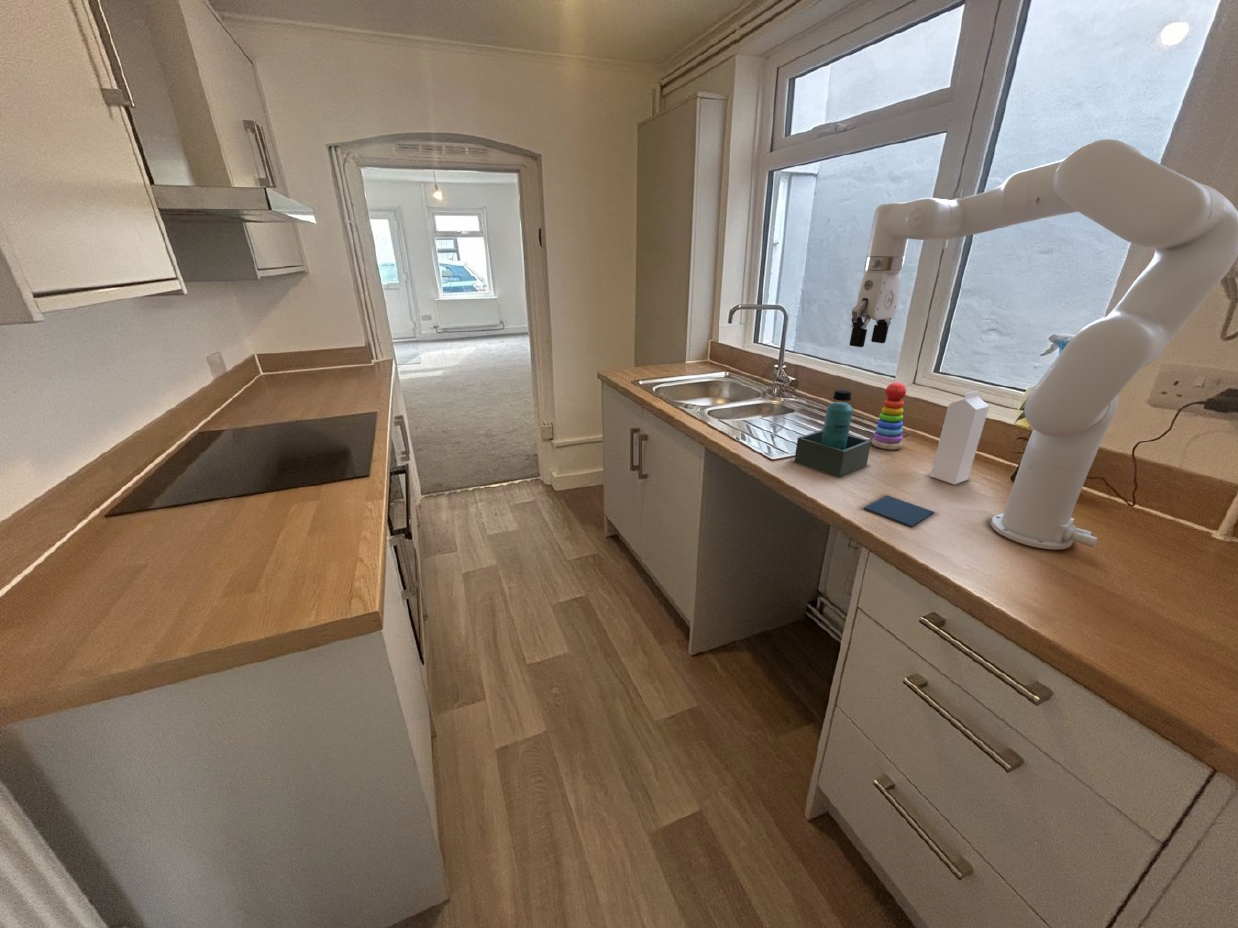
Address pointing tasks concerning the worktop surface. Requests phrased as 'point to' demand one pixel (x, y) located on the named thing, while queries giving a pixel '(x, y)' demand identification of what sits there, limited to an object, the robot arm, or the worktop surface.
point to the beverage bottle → (837, 421)
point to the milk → (959, 439)
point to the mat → (899, 511)
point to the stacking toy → (891, 419)
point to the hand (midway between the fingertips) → (867, 344)
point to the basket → (832, 454)
